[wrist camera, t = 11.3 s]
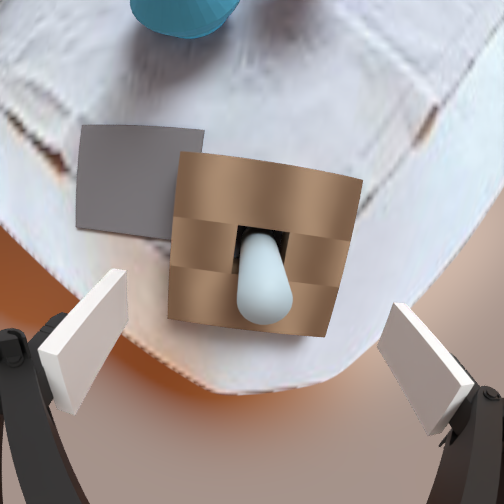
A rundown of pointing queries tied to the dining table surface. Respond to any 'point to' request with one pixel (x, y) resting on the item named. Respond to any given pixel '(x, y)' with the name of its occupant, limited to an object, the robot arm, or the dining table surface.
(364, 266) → the dining table surface
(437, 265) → the dining table surface
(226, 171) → the hole block
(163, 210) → the mat
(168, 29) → the perfume bottle
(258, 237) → the peg
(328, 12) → the dining table surface
